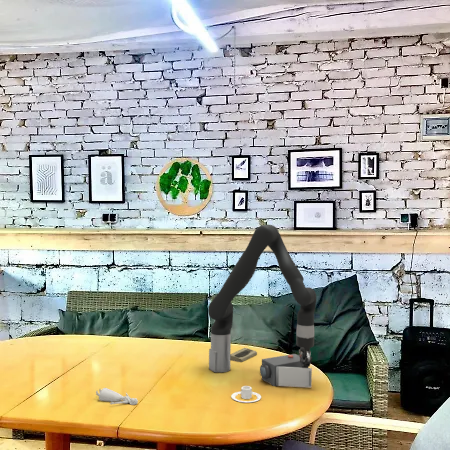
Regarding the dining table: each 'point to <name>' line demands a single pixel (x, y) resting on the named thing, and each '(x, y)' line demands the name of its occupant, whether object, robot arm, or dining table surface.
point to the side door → (293, 376)
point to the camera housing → (281, 361)
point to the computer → (242, 355)
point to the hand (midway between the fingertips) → (304, 374)
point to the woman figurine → (115, 397)
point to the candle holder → (246, 394)
